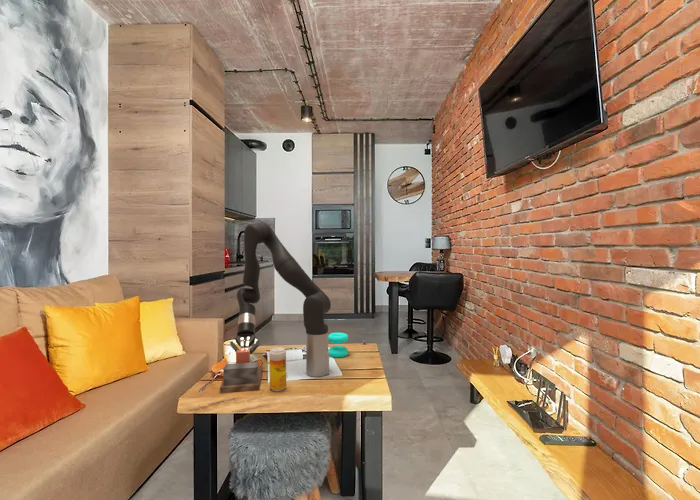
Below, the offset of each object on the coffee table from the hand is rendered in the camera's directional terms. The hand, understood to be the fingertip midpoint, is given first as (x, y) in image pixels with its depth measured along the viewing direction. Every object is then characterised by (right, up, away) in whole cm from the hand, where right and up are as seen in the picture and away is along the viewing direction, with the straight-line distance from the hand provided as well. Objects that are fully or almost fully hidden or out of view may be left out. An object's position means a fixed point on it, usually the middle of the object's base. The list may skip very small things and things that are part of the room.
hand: (244, 362), depth 152 cm
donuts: (+38, -5, +27) cm, 47 cm away
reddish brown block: (0, -4, -2) cm, 4 cm away
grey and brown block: (+1, -6, -5) cm, 8 cm away
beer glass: (+16, -6, -12) cm, 21 cm away
